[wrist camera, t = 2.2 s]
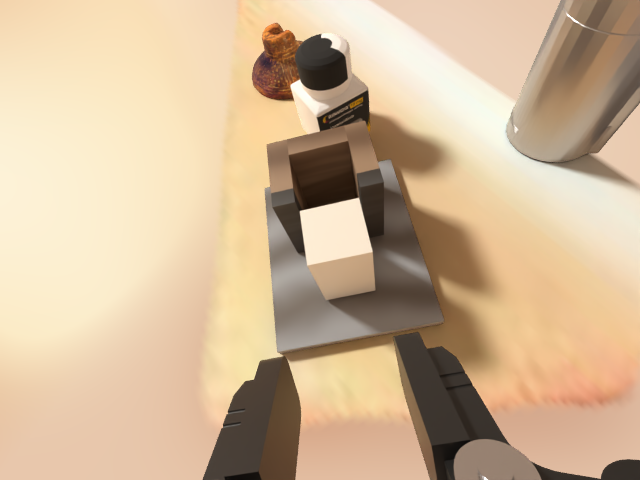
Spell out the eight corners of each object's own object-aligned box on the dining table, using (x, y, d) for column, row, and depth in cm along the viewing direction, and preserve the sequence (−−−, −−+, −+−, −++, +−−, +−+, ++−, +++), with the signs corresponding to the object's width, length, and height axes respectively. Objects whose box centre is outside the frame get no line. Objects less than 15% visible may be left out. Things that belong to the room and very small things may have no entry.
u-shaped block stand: (442, 323, 30) (467, 288, 21) (280, 353, 32) (238, 332, 23) (390, 165, 40) (392, 93, 31) (267, 193, 41) (234, 133, 32)
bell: (248, 69, 55) (230, 25, 49) (313, 44, 55) (304, -3, 49) (263, 111, 49) (245, 67, 43) (335, 84, 49) (328, 36, 43)
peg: (375, 290, 32) (372, 251, 24) (326, 300, 32) (307, 265, 24) (364, 246, 34) (358, 197, 26) (318, 255, 34) (299, 211, 27)
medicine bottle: (326, 158, 43) (307, 76, 32) (301, 127, 46) (277, 45, 35) (371, 132, 43) (367, 44, 33) (343, 104, 47) (332, 16, 36)
